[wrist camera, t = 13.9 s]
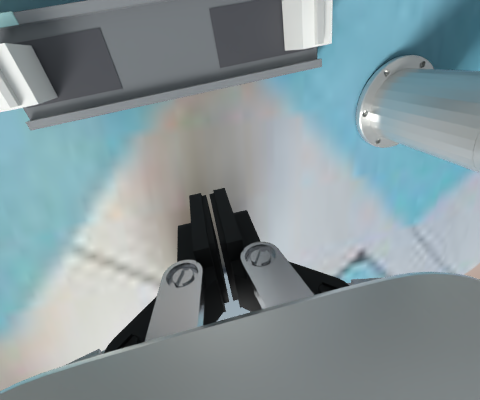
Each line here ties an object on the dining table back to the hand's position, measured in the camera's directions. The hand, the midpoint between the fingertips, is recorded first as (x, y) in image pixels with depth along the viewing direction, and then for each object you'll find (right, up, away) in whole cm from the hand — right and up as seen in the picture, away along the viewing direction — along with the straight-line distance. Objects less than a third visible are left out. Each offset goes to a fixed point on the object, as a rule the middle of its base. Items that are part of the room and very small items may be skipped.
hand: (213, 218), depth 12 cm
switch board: (-6, +17, +15) cm, 24 cm away
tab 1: (-18, +12, +11) cm, 25 cm away
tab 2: (+7, +20, +15) cm, 26 cm away
